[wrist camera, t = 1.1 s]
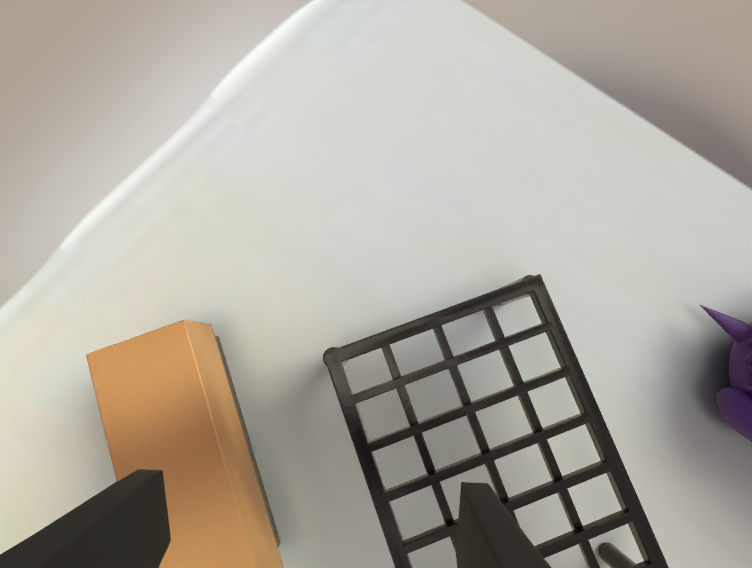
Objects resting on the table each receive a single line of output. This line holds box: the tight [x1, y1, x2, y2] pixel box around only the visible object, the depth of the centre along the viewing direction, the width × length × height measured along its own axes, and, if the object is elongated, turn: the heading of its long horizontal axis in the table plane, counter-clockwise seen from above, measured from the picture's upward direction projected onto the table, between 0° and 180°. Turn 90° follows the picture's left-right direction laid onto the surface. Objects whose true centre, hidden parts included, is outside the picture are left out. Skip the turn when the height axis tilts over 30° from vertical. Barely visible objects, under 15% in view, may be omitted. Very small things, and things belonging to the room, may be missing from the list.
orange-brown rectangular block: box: [86, 320, 283, 568], centre depth 19 cm, size 12×4×4 cm, turn 20°
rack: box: [323, 274, 669, 568], centre depth 18 cm, size 10×15×5 cm
